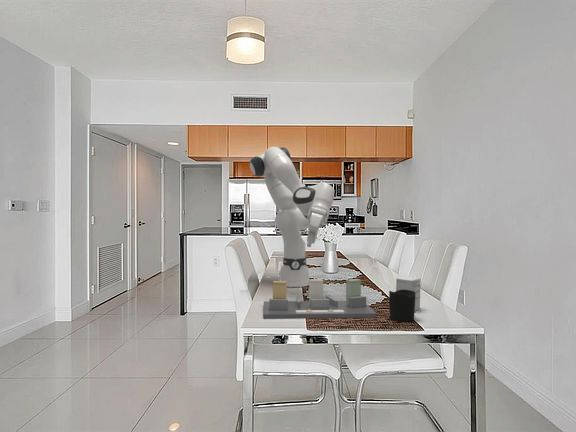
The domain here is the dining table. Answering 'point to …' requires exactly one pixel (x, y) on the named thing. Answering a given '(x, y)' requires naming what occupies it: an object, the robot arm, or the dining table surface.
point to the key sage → (352, 289)
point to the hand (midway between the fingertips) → (308, 245)
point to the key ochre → (279, 289)
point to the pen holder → (402, 305)
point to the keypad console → (318, 308)
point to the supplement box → (410, 287)
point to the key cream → (315, 289)
